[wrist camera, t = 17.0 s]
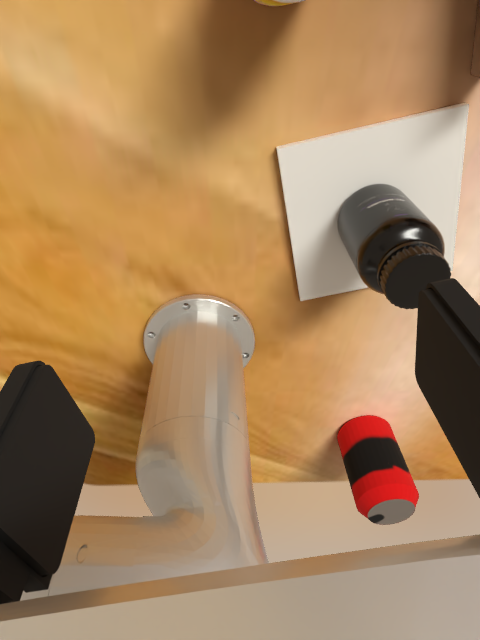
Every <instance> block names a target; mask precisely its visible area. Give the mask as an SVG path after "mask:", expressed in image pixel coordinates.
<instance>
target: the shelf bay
mask: <svg viewBox="0 0 480 640" xmlns="http://www.w3.org/2000/svg"><path fill="white" fill-rule="evenodd" d="M471 75H473V76H477V77H480V0H478V6H477V17H476V27H475V37H474V47H473V57H472V67H471Z"/></svg>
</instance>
